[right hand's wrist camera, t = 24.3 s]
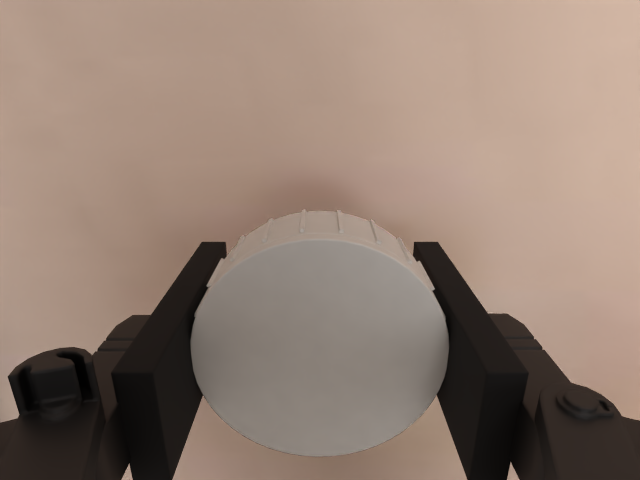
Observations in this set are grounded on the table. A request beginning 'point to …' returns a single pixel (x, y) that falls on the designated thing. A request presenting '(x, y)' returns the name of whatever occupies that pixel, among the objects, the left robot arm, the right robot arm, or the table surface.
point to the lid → (319, 336)
